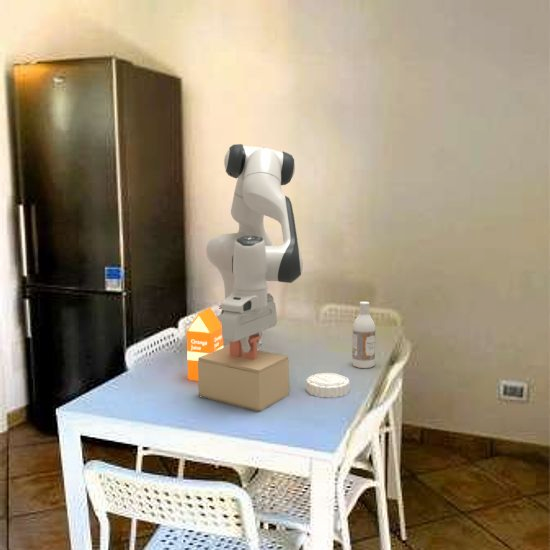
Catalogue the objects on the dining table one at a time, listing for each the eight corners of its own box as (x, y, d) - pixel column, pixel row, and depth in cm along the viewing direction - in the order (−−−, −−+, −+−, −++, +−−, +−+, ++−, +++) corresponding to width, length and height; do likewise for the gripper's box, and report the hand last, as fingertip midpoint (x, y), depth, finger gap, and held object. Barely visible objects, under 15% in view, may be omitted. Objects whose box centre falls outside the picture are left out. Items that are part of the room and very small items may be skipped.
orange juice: (224, 372, 184) (222, 308, 181) (211, 382, 176) (210, 314, 173) (200, 370, 187) (198, 306, 184) (187, 379, 179) (185, 312, 175)
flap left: (198, 360, 164) (197, 336, 163) (229, 348, 175) (229, 325, 174) (227, 366, 158) (226, 341, 157) (257, 353, 170) (257, 330, 168)
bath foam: (362, 370, 186) (363, 305, 182) (347, 364, 192) (348, 301, 188) (379, 366, 190) (380, 302, 186) (364, 360, 195) (365, 299, 192)
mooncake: (358, 392, 168) (358, 380, 167) (323, 401, 161) (323, 388, 161) (331, 380, 178) (331, 368, 177) (297, 388, 171) (297, 376, 171)
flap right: (228, 366, 158) (227, 341, 157) (258, 353, 169) (258, 329, 168) (259, 373, 153) (259, 347, 152) (288, 359, 164) (288, 335, 163)
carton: (198, 396, 165) (197, 360, 164) (230, 381, 177) (229, 348, 175) (259, 411, 154) (259, 373, 153) (289, 394, 166) (288, 359, 164)
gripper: (263, 290, 170) (263, 339, 172) (216, 304, 153) (217, 357, 155) (282, 293, 166) (282, 342, 169) (236, 307, 150) (237, 362, 152)
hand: (251, 350), depth 162 cm, fingers open, 2 cm apart
